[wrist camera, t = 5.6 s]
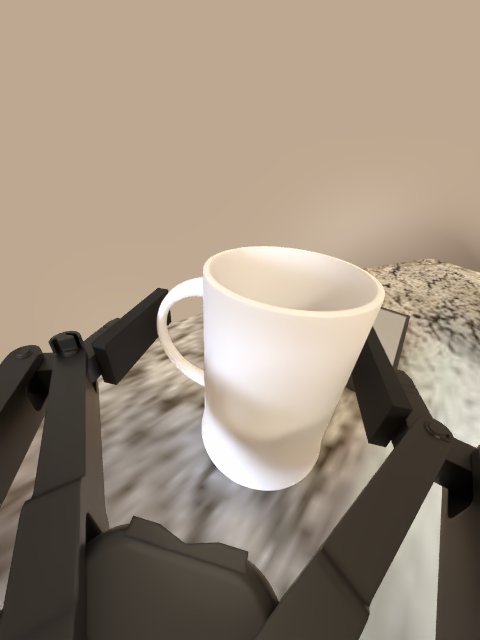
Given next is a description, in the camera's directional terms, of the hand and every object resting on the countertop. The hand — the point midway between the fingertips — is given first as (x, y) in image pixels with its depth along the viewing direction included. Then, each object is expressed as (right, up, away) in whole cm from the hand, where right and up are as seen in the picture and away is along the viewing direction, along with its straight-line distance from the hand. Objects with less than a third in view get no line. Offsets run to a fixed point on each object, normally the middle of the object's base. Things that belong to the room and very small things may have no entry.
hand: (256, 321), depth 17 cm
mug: (-1, -7, +1) cm, 8 cm away
